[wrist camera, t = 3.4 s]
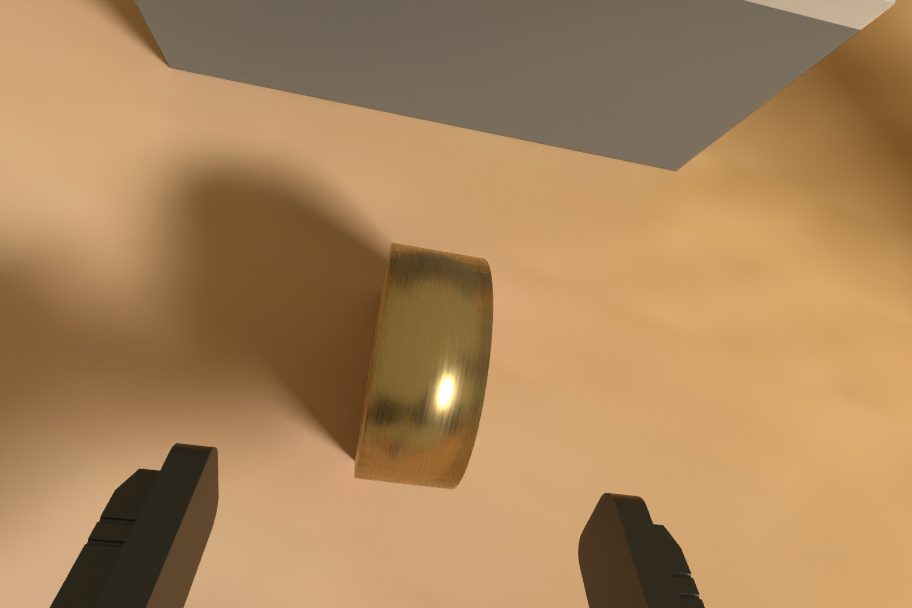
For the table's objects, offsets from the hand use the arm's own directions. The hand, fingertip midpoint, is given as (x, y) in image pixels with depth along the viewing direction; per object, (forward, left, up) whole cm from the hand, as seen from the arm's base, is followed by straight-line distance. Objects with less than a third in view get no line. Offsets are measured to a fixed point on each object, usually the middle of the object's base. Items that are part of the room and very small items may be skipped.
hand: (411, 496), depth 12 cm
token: (-1, -3, -8) cm, 9 cm away
